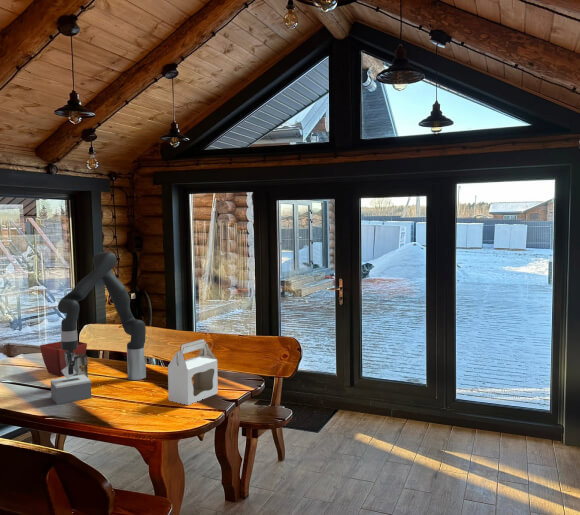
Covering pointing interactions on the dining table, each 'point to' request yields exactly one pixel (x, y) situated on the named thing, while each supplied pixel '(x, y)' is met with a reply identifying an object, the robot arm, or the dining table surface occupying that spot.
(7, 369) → the dining table surface
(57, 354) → the plant pot
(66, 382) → the box
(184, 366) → the gable box
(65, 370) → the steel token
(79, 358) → the coffee box
